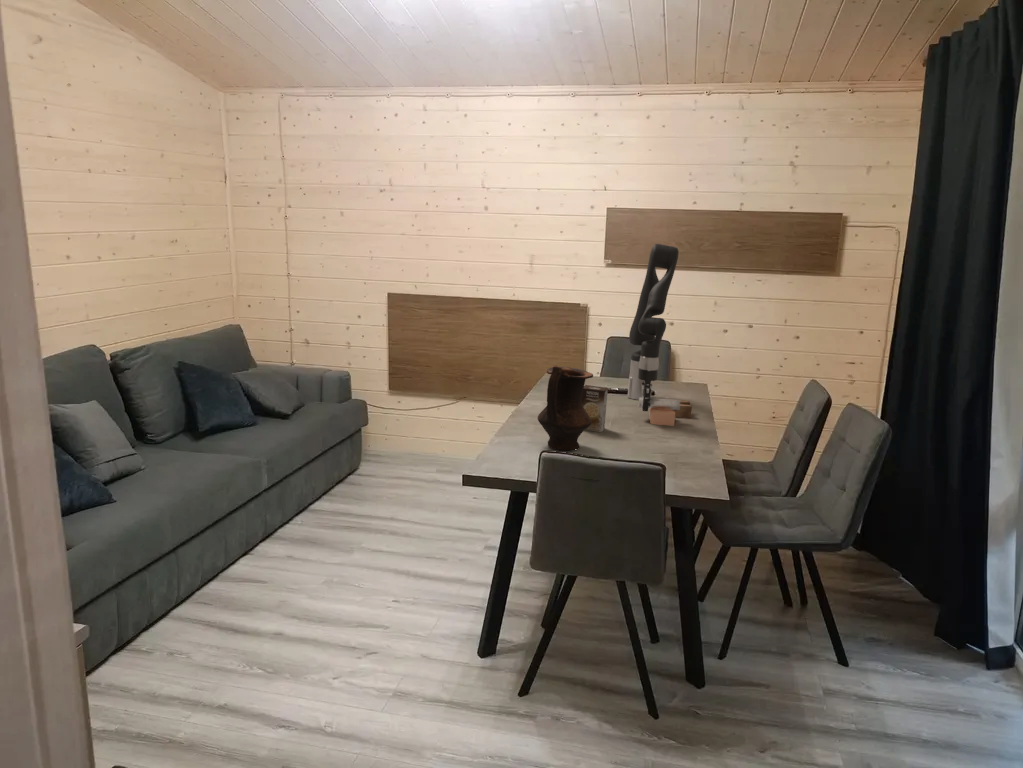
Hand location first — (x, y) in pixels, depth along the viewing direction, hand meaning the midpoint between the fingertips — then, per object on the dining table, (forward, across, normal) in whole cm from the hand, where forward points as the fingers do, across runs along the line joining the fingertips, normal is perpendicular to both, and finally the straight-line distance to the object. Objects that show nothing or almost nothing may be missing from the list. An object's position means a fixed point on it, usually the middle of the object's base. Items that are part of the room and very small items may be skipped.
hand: (644, 409), depth 291 cm
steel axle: (-1, 0, +6) cm, 6 cm away
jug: (+5, +46, -31) cm, 55 cm away
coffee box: (+5, +19, -21) cm, 28 cm away
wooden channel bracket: (+4, -13, +11) cm, 18 cm away
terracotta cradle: (+4, 0, +7) cm, 8 cm away
